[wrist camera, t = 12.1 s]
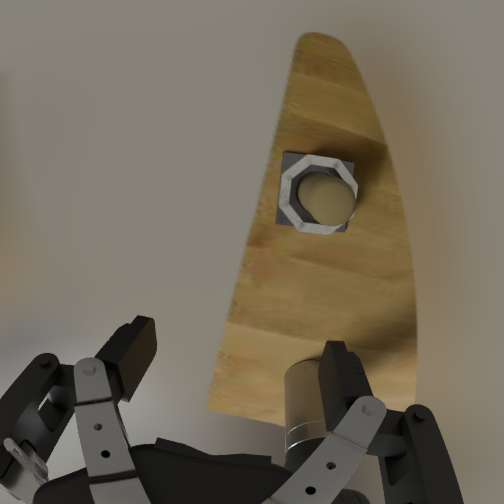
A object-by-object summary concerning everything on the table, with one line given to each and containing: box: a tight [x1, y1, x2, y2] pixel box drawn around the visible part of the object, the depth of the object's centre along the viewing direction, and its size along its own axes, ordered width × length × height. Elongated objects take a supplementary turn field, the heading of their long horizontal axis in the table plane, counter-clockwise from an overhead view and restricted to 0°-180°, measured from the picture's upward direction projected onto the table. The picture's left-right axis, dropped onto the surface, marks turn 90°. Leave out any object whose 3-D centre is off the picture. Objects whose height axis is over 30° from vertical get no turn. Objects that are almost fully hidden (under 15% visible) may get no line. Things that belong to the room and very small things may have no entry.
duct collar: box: [276, 152, 358, 235], centre depth 35 cm, size 10×10×4 cm
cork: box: [296, 171, 356, 226], centre depth 31 cm, size 6×6×11 cm
